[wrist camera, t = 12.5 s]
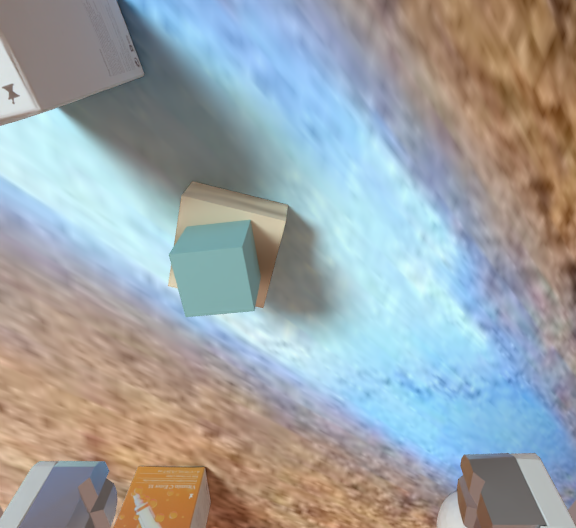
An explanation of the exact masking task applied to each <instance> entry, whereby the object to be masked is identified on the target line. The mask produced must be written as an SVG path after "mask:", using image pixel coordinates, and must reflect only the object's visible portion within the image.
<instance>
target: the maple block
mask: <svg viewBox="0 0 576 528" xmlns="http://www.w3.org/2000/svg"><path fill="white" fill-rule="evenodd" d="M287 209H288V205H286V204H282V203H278V202H274V201H270V200H266V199H262V198H258V197H254V196H250V195H246V194H242V193H238V192H234V191H230V190H226V189H222V188H218V187H214V186H210V185H206V184H202V183H198V182H194V181H192V183H191V184H190V185H189V186H188V188H187V189H186V190H185V192H184V193H183V194H182V195H181V202H180V209H179V215H178V222H177V229H176V236H175V243H174V246H175V244H176V242H177V241H178V239H179V238H180V236H181V235H182V233H183V231H184V230H185V228H186V227H187V226H196V225H206V224H215V223H224V222H233V221H242V220H251V224H252V230H253V236H254V241H255V247H256V252H257V258H258V264H259V269H260V275H261V280H260V285H259V290H258V295H257V300H256V305H255V306H256V307H261V308H263V307H264V303H265V299H266V295H267V291H268V288H269V284H270V280H271V276H272V272H273V269H274V265H275V261H276V257H277V253H278V250H279V246H280V242H281V238H282V234H283V231H284V227H285V223H286V217H287ZM168 286H170V287H174V288H178V287H177V283H176V279H175V276H174V272H173V268H172V265H171V270H170V277H169V283H168Z"/></svg>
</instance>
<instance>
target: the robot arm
mask: <svg viewBox="0 0 576 528" xmlns="http://www.w3.org/2000/svg"><path fill="white" fill-rule="evenodd" d="M460 466H461V469H462V472H463V476H461V477H460V478H459V479H458V485H457V496H458V505H459V510H460V514H461V517H462V521H463V524H464V526H465V527H467V528H576V524H575V523H574V521H573V519H572V517H571V515H570V513H569V511H568V510H567V508H566V506H565V504H564V502H563V500H562V498H561V496H560V495H559V493H558V491H557V489H556V487H555V485H554V483H553V481H552V480H551V478H550V476H549V474H548V472H547V470H546V468H545V467H544V465H543V463H542V461H541V459H540V457H538V456H537V455H536V454H535V453H522V454H509V453H498V454H467V455H464V456H463V457H462V459H461V465H460ZM108 472H109V470H108V467H107V465H106V463H105V462H100V461H39V462H38V463H36V464H35V465H34V466H33V467H32V468H31V469H30V471H29V473H28V474H27V476H26V478H25V479H24V481H23V482H22V484H21V486H20V487H19V489H18V491H17V492H16V494H15V495H14V497H13V499H12V500H11V502H10V504H9V505H8V507H7V508H6V510H5V512H4V513H3V515H2V517H1V518H0V528H110V527H111V525H112V522H113V519H114V516H115V513H116V506H117V491H116V488H115V485H114V483H112V482H111V481H110V480H108V479H107V478H106V477H107V475H108Z"/></svg>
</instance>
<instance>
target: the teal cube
mask: <svg viewBox="0 0 576 528" xmlns="http://www.w3.org/2000/svg"><path fill="white" fill-rule="evenodd" d="M169 257H170V261H171V265H172V268H173V272H174V276H175V279H176V283H177V287H178V290H179V294H180V298H181V301H182V305H183V309H184V312H185V316H186V317H193V316H204V315H216V314H227V313H238V312H249V311H254V310H255V305H256V300H257V295H258V290H259V285H260V280H261V275H260V269H259V264H258V258H257V252H256V247H255V241H254V236H253V230H252V224H251V220H242V221H233V222H224V223H215V224H206V225H196V226H187V227H186V228H185V230H184V231H183V233H182V235H181V236H180V238H179V239H178V241H177V242H176V244H175V246H174V247H173V249H172V250H171V252H170V253H169Z"/></svg>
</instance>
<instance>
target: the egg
mask: <svg viewBox="0 0 576 528" xmlns="http://www.w3.org/2000/svg"><path fill="white" fill-rule="evenodd" d="M437 528H467V527H465V526H464V524H463V521H462V517H461V514H460V510H459V505H458V496H457V491H456V492H453V493H452V494H450V495H449V496H448V497H447V498H446V499H445V501H444V502H443V504H442V505H441V508H440V511H439V514H438V519H437Z"/></svg>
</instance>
